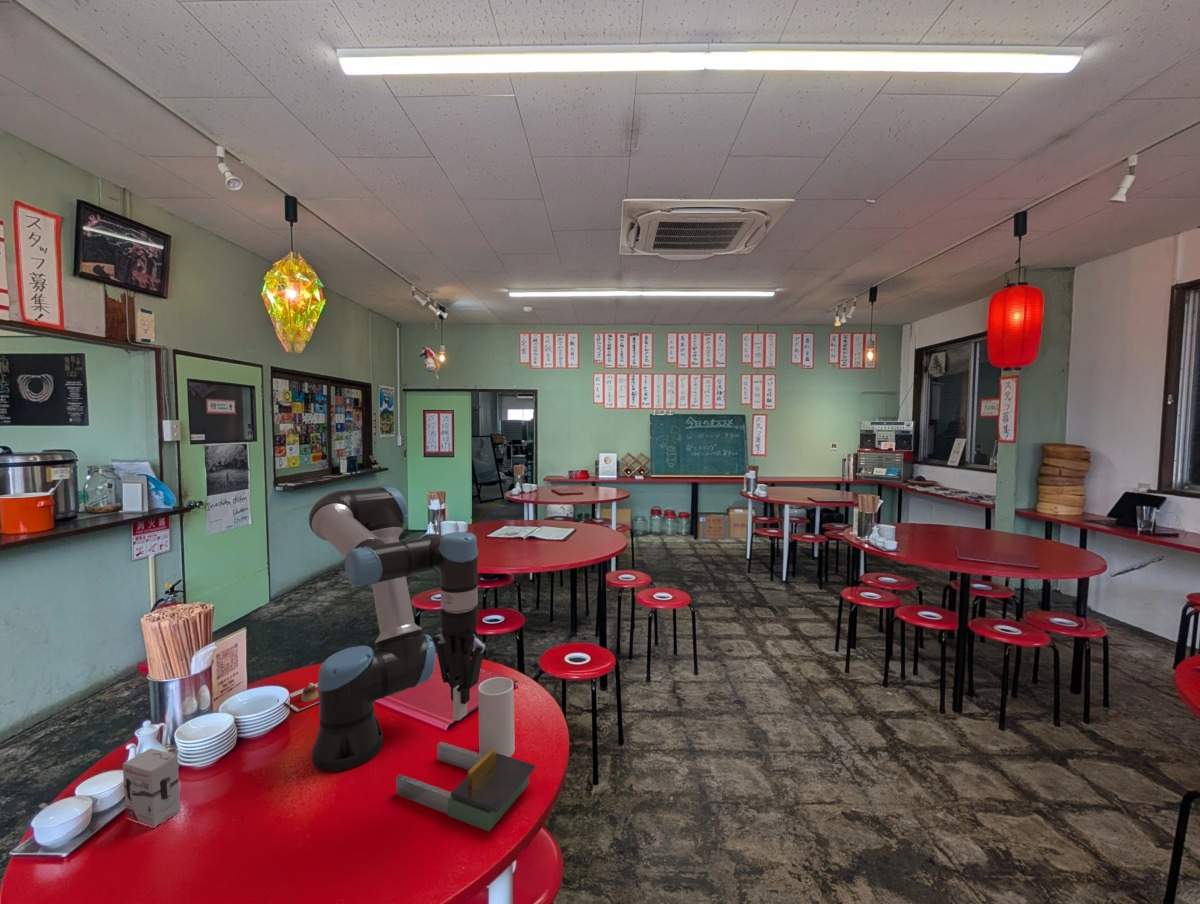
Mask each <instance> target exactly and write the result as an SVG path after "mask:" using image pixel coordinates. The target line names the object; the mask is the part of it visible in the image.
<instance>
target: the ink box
mask: <svg viewBox="0 0 1200 904" xmlns="http://www.w3.org/2000/svg"><path fill="white" fill-rule="evenodd" d="M178 757H179V756H177V755H176V754H173V753H171V752H168V751H163V750H159V749H155V748H149V749H147V750H144V751H143V752H141V753H140V754H137V755H136V756H134V757H132V758H130V759H129V760H127V761H125V762H123V763H122V774H123V775H122V777H123V791H124V793H123V795H124V808H125V818H126V817H127V818H130V819H132V820H135V821H138V822H141V823H144V824H147V825H150V826H152V827H155V826H157V825H158V824H160V823H162V822H163V821H165V820H166V819H168V818H169V817H171V816H173V815H175V814H176V813H178V812H179V813H181V797H180V796H181V795H180V776H179V761H178V759H179V758H178ZM179 813H178V814H179ZM176 815H177V814H176ZM176 815H175V816H176ZM173 817H174V816H173ZM165 822H166V821H165ZM162 824H163V823H162Z"/></svg>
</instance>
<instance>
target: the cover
mask: <svg viewBox="0 0 1200 904" xmlns="http://www.w3.org/2000/svg"><path fill="white" fill-rule="evenodd" d="M535 770H536V765H535V764H534V763H529V762H526V761H525V760H524V761H523V760H520V759H517V758H514V757H512V756H511V757H507V756H504V755H501V754H497V753H496V749H493V748H492V749H491V750H490V751H489V752H488V753H487V754H486V755H485V756H484V757H483V758H482V759H480V760H479V761H478V762H477V763H476V764H475V765H474V766H473V767H472V768H471V769H470V770H468V771H467V776H466V777H465V778H464V779H463V780H462V781H461V782H460V783H459V784H458V785H457V786H456V787H455V788H454V789H453V790H452V791H450V792H451V797H454V798H457V799H460V800H462V801H465V802H468V803H471V804H473V805H476V806H479V807H481V808H484V809H487V810H490V811H492V812H495V813H498V811H499V810H500V809H501V808H502V807H503V805H504V804H505V803H506V802H507V801H508V800H509V798H510V797H511V796H512V795H513V794H514V793H515V791H516V790H517V789H518V788H519V787H520V786H521V784H522V783H523V782H524V781H525V780H526V779H527V777H528V776H529V777H530V775H531V774H533V772H534V771H535Z"/></svg>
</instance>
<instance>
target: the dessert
mask: <svg viewBox="0 0 1200 904" xmlns="http://www.w3.org/2000/svg"><path fill="white" fill-rule="evenodd" d="M317 689H318V682H316V683H313V682H309V684H308V686H306V687H304V688H301V689H299V690H296V691H294V692H291V693H289V694H290V696H291V698H293V697H296V696H297V695H301V694H302V695H301V698H300V701H301V702H304V703H305V702H306V703H307V702H311V701H314V700H316V699H319V691H318V690H317ZM317 704H319V701H318V702H315V703H313V704H310V705H308V706H305V707H303V708H300V709H299V708H298V707H297V706H296V705H294V704H292V703H291V705H290V708H291V709H292V710H293V711H295V712H300V711H303V710H306V709H308V708H311V707H312V706H315V705H317Z"/></svg>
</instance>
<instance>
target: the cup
mask: <svg viewBox="0 0 1200 904" xmlns="http://www.w3.org/2000/svg"><path fill="white" fill-rule="evenodd" d="M514 688H515V687H514V681H513V680H512V679H511V678H508V677H502V676H498V677H497V676H496V677H491V678H487V679H485V680H483V681H482V682H480V684H479V685H478V689H477V691H478V695H477V696H478V698H477V699H478V740H479V741H478V744H479V745H478V746H479V749H478V750H479V752H478V753H479V754H483V755H486V754H487V753H488V752H489V751H490V750H491V749H492V748H493V749H496V753H497V754H501V755H504V756H507V757H511V758H512V756H513V755H514V753H515V748H516V747H515V746H516V745H515V692H514Z"/></svg>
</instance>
